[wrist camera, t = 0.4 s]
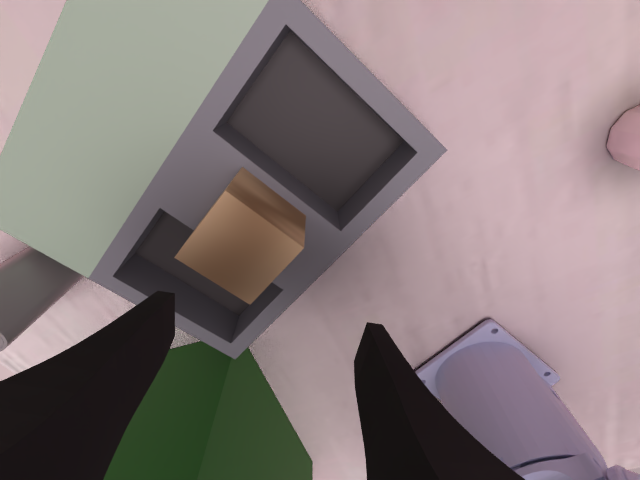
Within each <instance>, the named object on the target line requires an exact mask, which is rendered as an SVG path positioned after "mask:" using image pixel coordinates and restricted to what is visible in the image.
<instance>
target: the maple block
mask: <svg viewBox="0 0 640 480" xmlns="http://www.w3.org/2000/svg"><path fill="white" fill-rule="evenodd" d="M305 224H306V215H304V214H303V213H302V212H301V211H299V210H298V209H297V208H295V207H294V206H293V205H291V204H290V203H289V202H288V201H286V200H285V199H284V198H282V197H281V196H280V195H278V194H277V193H276V192H275V191H273V190H272V189H271V188H269V187H268V186H267V185H265V184H264V183H263V182H262V181H260V180H259V179H258V178H256V177H255V176H254V175H252V174H251V173H250V172H249V171H247V170H246V169H245V168H243V167H242V168H241V169H240V170H239V172H238V173H237V174H236V176H235V177H234V178H233V180H232V181H231V182H230V184H229V185H228V186H227V188H226V189H225V190H224V191H223V193H222V194H221V195H220V197H219V198H218V199H217V201H216V202H215V203H214V205H213V206H212V207H211V209H210V210H209V211H208V213H207V214H206V215H205V217H204V218H203V219H202V220H201V222H200V223H199V224H198V226H197V227H196V229H195V230H194V231H193V233H192V234H191V235H190V237H189V238H188V239H187V241H186V242H185V244H184V245H183V246H182V248H181V249H180V250H179V252H178V253H177V255H176V256H175V257H174V258H176V259H177V260H179V261H180V262H182V263H184V264H185V265H187V266H188V267H190V268H192V269H193V270H195V271H196V272H198V273H200V274H201V275H203V276H205V277H206V278H208V279H209V280H211V281H213V282H214V283H216V284H217V285H219V286H221V287H222V288H224V289H225V290H227V291H229V292H230V293H232V294H233V295H235V296H237V297H238V298H240V299H241V300H243V301H245V302H246V303H248V304H250V305H251V304H252V302H253V301H254V300H255V299H256V298H257V297H258V296H259V295H260V294H261V293H262V292H263V291H264V290H265V289H266V288H267V287H268V286H269V285H270V283H271V282H272V281H273V280H274V279H275V278H276V277H277V276H278V275H279V274H280V273H281V272H282V271H283V270H284V269H285V268H286V267H287V266H288V264H289V263H290V262H291V261H292V260H293V259H294V258H295V257H296V256H297V255H298V254H299V253H300V252H301V251H302V250H303V249H304V241H305Z"/></svg>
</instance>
